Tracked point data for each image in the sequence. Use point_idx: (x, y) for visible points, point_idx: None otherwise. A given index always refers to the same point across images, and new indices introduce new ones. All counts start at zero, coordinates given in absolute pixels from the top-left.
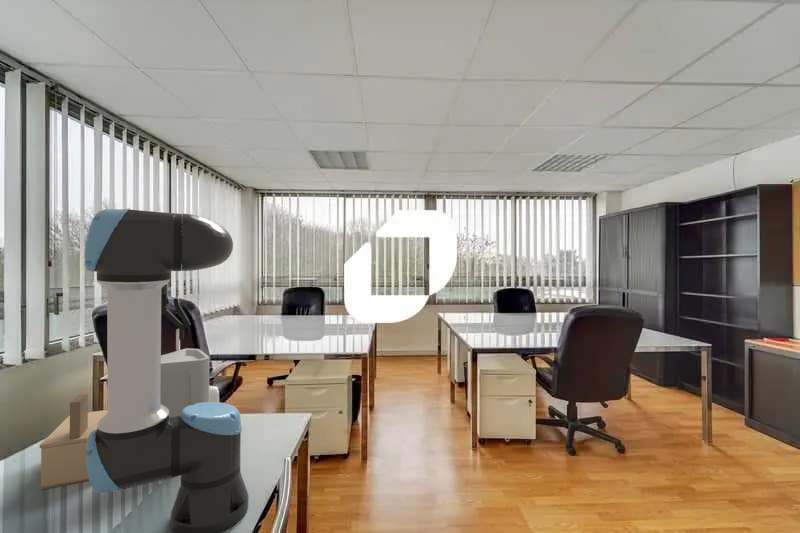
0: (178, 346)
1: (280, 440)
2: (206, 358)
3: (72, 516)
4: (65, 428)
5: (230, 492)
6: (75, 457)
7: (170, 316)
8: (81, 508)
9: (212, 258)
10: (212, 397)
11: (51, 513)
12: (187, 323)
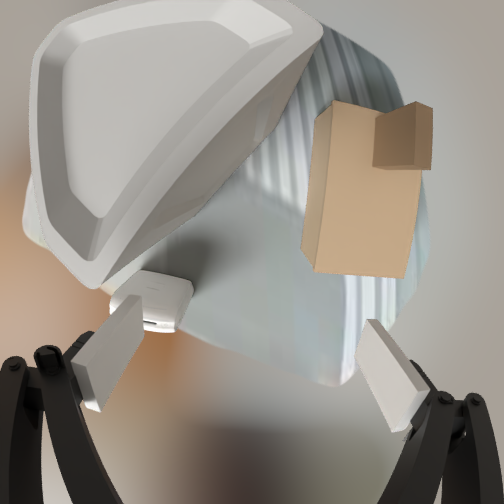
0: (121, 304)
1: None
2: (45, 38)
3: (330, 42)
4: (406, 192)
5: None
6: None
7: (75, 473)
8: (324, 53)
9: None
10: (125, 289)
11: (355, 63)
12: (7, 374)
